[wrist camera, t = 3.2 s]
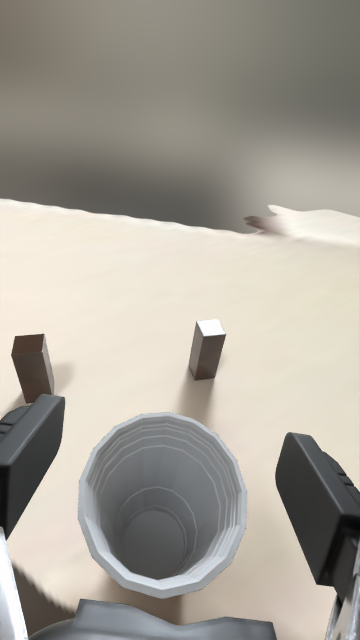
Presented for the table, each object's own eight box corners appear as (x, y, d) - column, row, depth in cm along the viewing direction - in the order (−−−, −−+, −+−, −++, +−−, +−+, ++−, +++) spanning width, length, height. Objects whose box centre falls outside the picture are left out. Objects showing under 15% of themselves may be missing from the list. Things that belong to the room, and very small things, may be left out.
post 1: (54, 380, 40) (44, 333, 35) (53, 399, 38) (42, 352, 33) (28, 384, 39) (14, 336, 34) (26, 403, 37) (11, 355, 32)
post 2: (207, 362, 46) (217, 319, 41) (214, 377, 43) (226, 334, 38) (188, 364, 45) (196, 321, 40) (194, 380, 43) (203, 336, 38)
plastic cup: (148, 682, 21) (161, 662, 14) (64, 544, 27) (41, 478, 19) (241, 549, 28) (283, 488, 20) (159, 461, 33) (168, 387, 26)
